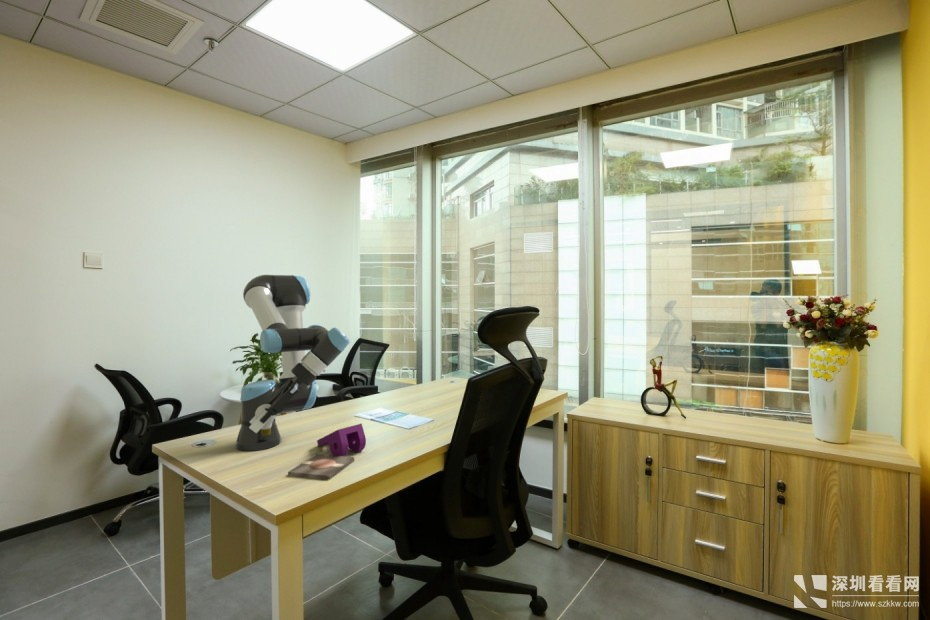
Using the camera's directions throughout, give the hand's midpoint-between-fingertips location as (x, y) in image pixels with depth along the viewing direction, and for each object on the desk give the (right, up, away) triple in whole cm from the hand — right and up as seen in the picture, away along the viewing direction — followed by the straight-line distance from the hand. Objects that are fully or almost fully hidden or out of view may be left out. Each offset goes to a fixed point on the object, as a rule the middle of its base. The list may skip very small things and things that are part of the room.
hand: (252, 427), depth 133 cm
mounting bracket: (+19, -15, +25) cm, 35 cm away
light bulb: (+3, -4, +2) cm, 5 cm away
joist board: (+19, -15, +8) cm, 25 cm away
